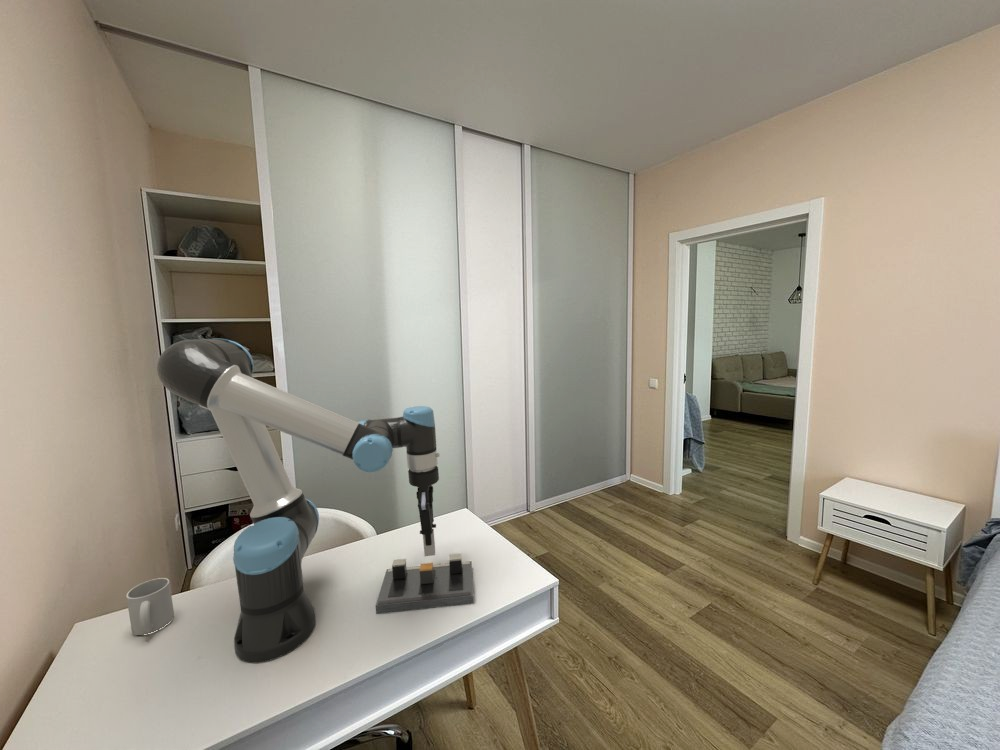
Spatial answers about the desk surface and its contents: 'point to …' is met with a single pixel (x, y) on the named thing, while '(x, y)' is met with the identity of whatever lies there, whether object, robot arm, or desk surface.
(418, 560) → the desk surface
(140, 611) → the cup
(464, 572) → the panel
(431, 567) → the toggle
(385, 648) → the desk surface
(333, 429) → the robot arm
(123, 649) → the desk surface
